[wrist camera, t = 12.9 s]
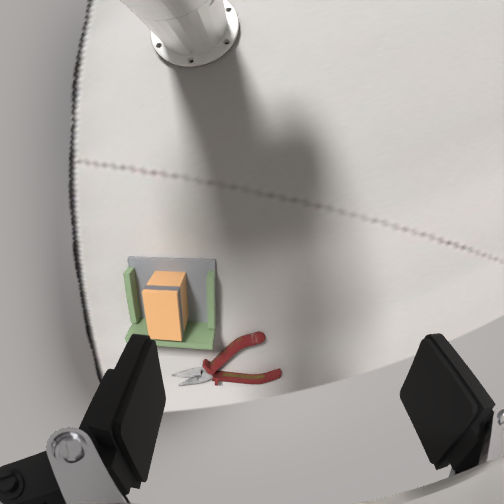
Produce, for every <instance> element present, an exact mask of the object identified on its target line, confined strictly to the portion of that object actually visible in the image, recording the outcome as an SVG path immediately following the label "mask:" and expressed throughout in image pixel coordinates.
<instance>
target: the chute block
mask: <svg viewBox="0 0 504 504" xmlns="http://www.w3.org/2000/svg"><path fill="white" fill-rule="evenodd" d="M142 296H143V303H144V310H145V316H146V322H147V328H148V334H149V336H150V338H151V339H160V340H173V341H182V338H183V336H184V331H185V327H186V324H187V320H188V317H189V312H188V298H187V283H186V272H172V271H155V272H154V273H153V275H152V276H151V278H150V280H149V281H148V283H147V284H146V285H145V287H144V288H143V291H142Z"/></svg>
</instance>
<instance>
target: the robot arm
mask: <svg viewBox="0 0 504 504" xmlns="http://www.w3.org/2000/svg"><path fill="white" fill-rule="evenodd" d="M120 1H122V2H123V3H124V4H125V5H126V6H127V7H128V8H129V9H130V10H131V11H132V12H133V13H134V14H135V15H136V16H137V17H138V18H139V19H140V20H141V21H142V22H143V23H144V24H145V25H146V26H147V27H148V28H149V29H150V30H151V41H152V45H153V47H154V49H155V50H156V52H157V53H158V54H159V55H160V56H161V57H162V58H163V59H165V60H166V61H168V62H170V63H172V64H175V65H178V66H184V67H195V66H201V65H205V64H208V63H211V62H213V61H215V60H217V59H218V58H220V57H221V56H222V55H224V54H225V53H226V52H227V51H228V50H229V49H230V48H231V46H232V45H233V43H234V42H235V40H236V37H237V35H238V30H239V21H238V15H237V13H236V11H235V9H234V8H233V6H232V5H231V4H230V3H229V2H228V1H227V0H120ZM227 11H231V12H227ZM225 43H229V44H228V45H225ZM159 46H161V47H160V48H159ZM191 60H193V62H192V63H190V61H191ZM400 398H401V401H402V403H403V404H404V407H405V409H406V411H407V413H408V415H409V417H410V419H411V421H412V423H413V426H414V428H415V430H416V432H417V434H418V436H419V438H420V440H421V443H422V445H423V447H424V449H425V452H426V454H427V456H428V458H429V461H430V462H431V463H432V464H434V465H435V468H436V470H438V469H441V468H444V467H446V466H448V465H449V464H451V466H452V469H451V472H450V475H449V477H448V478H446V479H443V480H440V481H438V482H435V483H432V484H429V485H426V486H423V487H420V488H417V489H413V490H410V491H406V492H403V493H399V494H396V495H392V496H388V497H384V498H380V499H376V500H371V501H366V502H361V503H357V504H504V406H503V407H499V408H497V409H496V410H495V412H493V410H492V409H493V407H494V406H495V403H494V401H493V400H492V399H491V397H490V396H489V394H488V393H487V392H486V390H485V389H484V388H483V386H482V385H481V384H480V382H479V381H478V379H477V378H476V377H475V375H474V374H473V373H472V371H471V370H470V369H469V367H468V366H467V365H466V364H465V362H464V361H463V360H462V358H461V357H460V356H459V355H458V353H457V352H456V351H455V349H454V348H453V347H452V346H451V344H450V343H449V342H448V341H447V340H446V338H445V337H444V336H443V335H442V334H440V333H438V334H429V335H427V336H426V337H425V338H424V339H423V340H422V341H421V343H420V346H419V348H418V351H417V353H416V356H415V358H414V361H413V364H412V366H411V368H410V370H409V373H408V375H407V377H406V380H405V382H404V384H403V386H402V388H401V391H400ZM165 402H166V395H165V390H164V385H163V380H162V374H161V369H160V363H159V358H158V352H157V346H156V341H155V340H151V338H150V336H149V335H142V334H132V335H131V337H130V339H129V341H128V343H127V345H126V347H125V349H124V351H123V353H122V355H121V357H120V359H119V361H118V363H117V365H116V367H115V369H108V370H107V371H106V373H105V375H104V377H103V379H102V381H101V383H100V385H99V387H98V389H97V391H96V393H95V395H94V397H93V399H92V401H91V403H90V405H89V407H88V410H87V412H86V414H85V416H84V418H83V421H82V423H81V425H80V427H79V429H77V428H70V427H68V428H62V429H60V430H58V431H56V432H54V433H53V434H52V435H51V436H50V438H49V439H48V441H47V445H46V451H44V452H41V453H39V454H36V455H33V456H30V457H28V458H25V459H22V460H19V461H16V462H13V463H10V464H7V465H4V466H2V467H0V504H131V502H130V501H129V499H128V497H127V496H126V495H127V494H129V491H130V488H131V487H132V488H138V489H139V488H140V485H141V482H146V481H147V478H148V473H149V469H150V464H151V460H152V456H153V452H154V447H155V443H156V439H157V435H158V431H159V427H160V423H161V419H162V415H163V411H164V407H165Z"/></svg>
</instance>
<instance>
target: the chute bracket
mask: <svg viewBox="0 0 504 504" xmlns="http://www.w3.org/2000/svg"><path fill="white" fill-rule="evenodd" d="M128 265H129V267H128V268H127V270H126V271H125V272H124V273H123V275H124V282H125V289H126V295H127V302H128V308H129V314H130V319H131V323H132V325H131V327H130V329H129V331H128V333H127V335H126V337H125V339H126V342H128V341H129V339H130V337H131V335H132V334H142V335H149V334H148V328H147V322H146V316H145V310H144V303H143V296H142V291H143V288H144V287H145V285H146V284H147V283H148V281H149V280H150V278H151V276H152V275H153V273H154V272H155V271H172V272H186V283H187V298H188V312H189V317H188V320H187V324H186V327H185V331H184V336H183V338H182V341H173V340H160V339H151V340H155V341H156V346H167V347H179V348H193V349H210V350H213V343H214V336H215V329H216V281H215V260H213V259H185V258H159V257H133V256H129V257H128Z"/></svg>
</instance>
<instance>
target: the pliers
mask: <svg viewBox="0 0 504 504" xmlns="http://www.w3.org/2000/svg"><path fill="white" fill-rule="evenodd" d="M263 341H265V335H264V333H262V332H256V333H252V334H248V335H245V336H241V337H239V338H237V339H236V340H234V341H233V342H232V343H231V344H229V345H228V346H227V347H226V348H225V349H224V350H223V351H222V352H221V353H220V354H219V355H218V356H217V357H216V358H215V359H214V360H213V361H212V362H210V361H208V360H207V359H205V360H204V361H203V367H199V368H193V369H190V370H186V371H183V372H179V373H176V374H172V376H178V377H192V378H190V379H188V380H186V381H184V382H182V383H181V384H179V385H178V386H182V385H190V384H197V383H202V382H205V381H207V380H210V379H211V378H212V381H215V385H217V386H218V381H226V382H235V383H244V384H263V383H266V382H270V381H273V380H276V379H278V378H280V377H281V374H282V373H281V370H280V369H277V370H273V371H270V372H267V373H263V374H242V373H233V372H225V371H217V370H218V369H219V368H220V367H221V366H222V365H223V364H224V363H226V362H227V361H228V360H229V359H230V358H231V357H232V356H233V355H234V354H235V353H237V352H238V351H239V350H241V349H243V348H245V347H249V346H252V345H256V344H260V343H262V342H263Z"/></svg>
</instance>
